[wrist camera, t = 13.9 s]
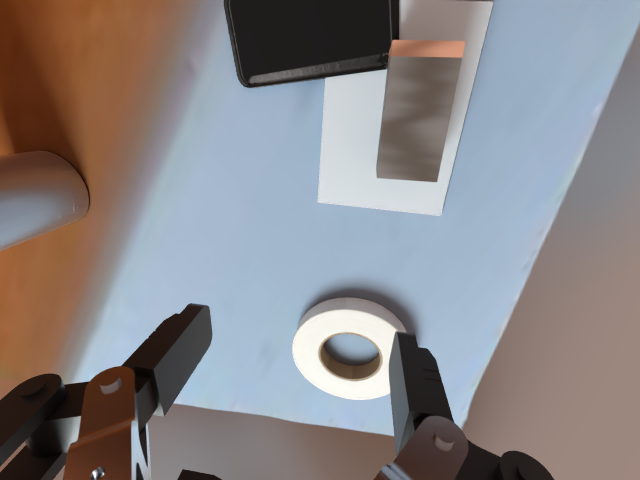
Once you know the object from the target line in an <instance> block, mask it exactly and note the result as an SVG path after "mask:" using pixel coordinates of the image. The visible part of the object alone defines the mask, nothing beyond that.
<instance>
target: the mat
mask: <svg viewBox="0 0 640 480" xmlns="http://www.w3.org/2000/svg"><path fill="white" fill-rule="evenodd" d="M492 6H493V2H491V1H455V0H399V40H434V41H466V42H465V47H464V52H463V57H462V62H461V67H460V72H459V77H458V82H457V86H456V91H455V96H454V101H453V106H452V111H451V116H450V121H449V126H448V131H447V136H446V141H445V146H444V151H443V156H442V161H441V166H440V171H439V175H438V180H437V182H424V181H410V180H396V179H382V178H377V175H376V164H377V155H378V146H379V137H380V128H381V120H382V111H383V102H384V93H385V85H386V76H387V69H386V70H379V71H371V72H364V73H357V74H349V75H342V76H335V77H328V78H325V92H324V108H323V124H322V140H321V156H320V172H319V189H318V202H319V203H328V204H337V205H346V206H355V207H364V208H373V209H382V210H392V211H401V212H410V213H419V214H428V215H437V216H441V213H442V208H443V204H444V200H445V196H446V192H447V188H448V184H449V180H450V176H451V172H452V168H453V164H454V160H455V156H456V152H457V148H458V144H459V140H460V136H461V131H462V127H463V123H464V119H465V115H466V111H467V107H468V103H469V99H470V95H471V91H472V87H473V83H474V79H475V75H476V71H477V67H478V63H479V59H480V54H481V50H482V46H483V42H484V38H485V34H486V30H487V26H488V22H489V18H490V14H491V10H492Z"/></svg>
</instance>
